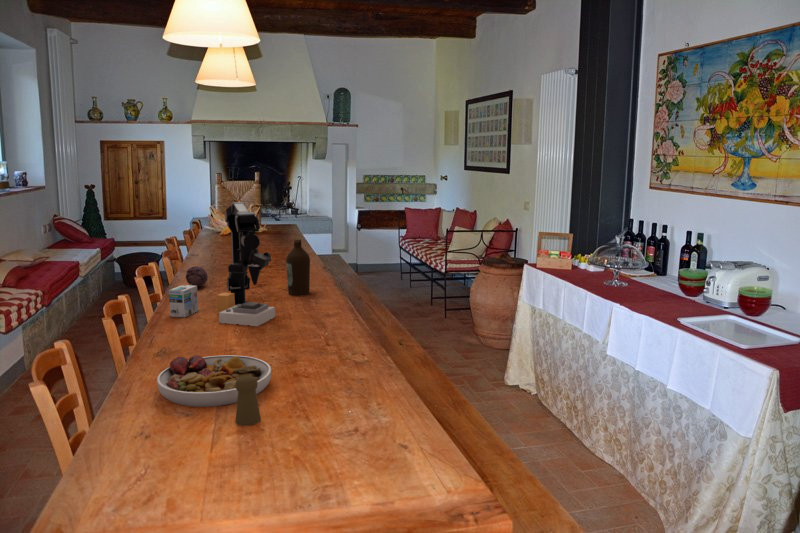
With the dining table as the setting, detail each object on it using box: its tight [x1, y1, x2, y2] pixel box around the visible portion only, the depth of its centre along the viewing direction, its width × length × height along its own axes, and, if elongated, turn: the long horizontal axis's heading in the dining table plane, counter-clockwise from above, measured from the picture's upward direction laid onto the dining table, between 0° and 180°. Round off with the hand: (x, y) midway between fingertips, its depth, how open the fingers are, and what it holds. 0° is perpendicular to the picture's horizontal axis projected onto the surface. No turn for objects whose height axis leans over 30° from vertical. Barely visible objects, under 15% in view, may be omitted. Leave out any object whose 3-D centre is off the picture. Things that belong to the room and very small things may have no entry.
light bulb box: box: [168, 284, 199, 318], centre depth 255 cm, size 11×7×11 cm, turn 168°
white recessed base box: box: [218, 303, 276, 327], centre depth 246 cm, size 14×16×6 cm
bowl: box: [156, 354, 272, 408], centre depth 176 cm, size 30×30×8 cm
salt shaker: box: [234, 376, 262, 427], centre depth 155 cm, size 6×6×11 cm
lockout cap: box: [216, 292, 235, 316], centre depth 255 cm, size 5×5×8 cm
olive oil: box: [285, 238, 311, 297], centre depth 289 cm, size 11×11×25 cm
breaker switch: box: [241, 301, 261, 310], centre depth 245 cm, size 5×5×3 cm
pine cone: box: [185, 265, 209, 287], centre depth 303 cm, size 18×10×10 cm, turn 21°
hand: (249, 287), depth 244 cm, fingers open, 8 cm apart
